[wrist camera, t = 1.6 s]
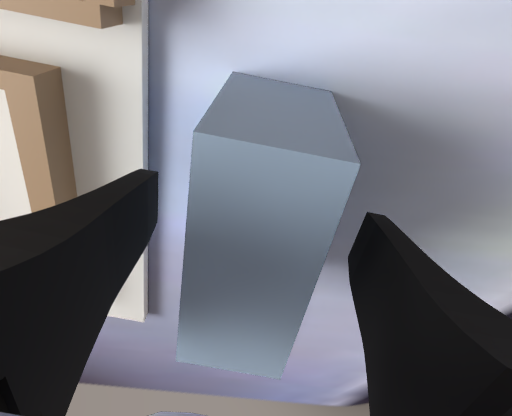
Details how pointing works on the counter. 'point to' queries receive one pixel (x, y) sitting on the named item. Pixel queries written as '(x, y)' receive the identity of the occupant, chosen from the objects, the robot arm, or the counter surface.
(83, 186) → the jig
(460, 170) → the counter surface
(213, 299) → the light blue block
